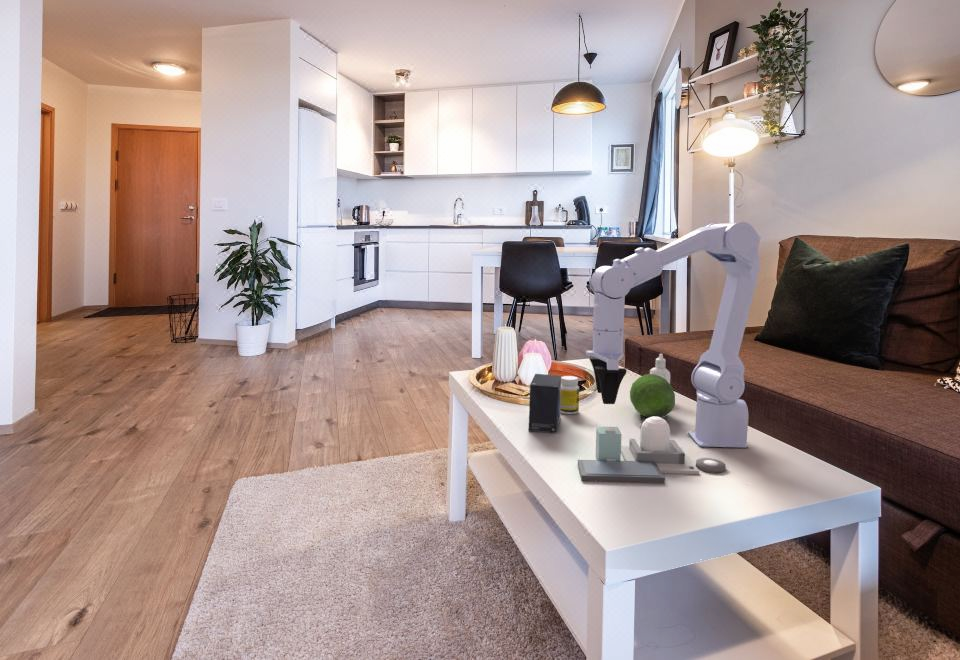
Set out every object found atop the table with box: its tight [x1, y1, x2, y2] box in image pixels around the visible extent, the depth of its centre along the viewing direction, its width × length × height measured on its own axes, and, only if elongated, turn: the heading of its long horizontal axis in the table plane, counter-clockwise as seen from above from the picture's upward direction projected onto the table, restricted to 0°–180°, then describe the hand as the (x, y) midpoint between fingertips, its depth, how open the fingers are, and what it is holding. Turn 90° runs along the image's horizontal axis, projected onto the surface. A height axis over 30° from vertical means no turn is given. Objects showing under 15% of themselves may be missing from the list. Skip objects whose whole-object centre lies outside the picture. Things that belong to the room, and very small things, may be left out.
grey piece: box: [621, 438, 700, 475], centre depth 107 cm, size 12×12×2 cm
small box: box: [528, 373, 562, 434], centre depth 127 cm, size 11×6×10 cm, turn 168°
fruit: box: [629, 373, 676, 419], centre depth 134 cm, size 15×10×10 cm, turn 172°
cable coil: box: [695, 457, 727, 474], centre depth 104 cm, size 5×5×1 cm
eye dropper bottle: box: [649, 353, 671, 385], centre depth 146 cm, size 4×6×12 cm
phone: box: [577, 459, 666, 484], centre depth 101 cm, size 14×7×1 cm, turn 86°
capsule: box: [639, 416, 671, 452], centre depth 108 cm, size 5×5×8 cm
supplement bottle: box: [560, 375, 580, 415], centre depth 136 cm, size 5×5×8 cm
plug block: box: [595, 426, 622, 461], centre depth 106 cm, size 4×4×7 cm
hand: (605, 397), depth 111 cm, fingers open, 7 cm apart
